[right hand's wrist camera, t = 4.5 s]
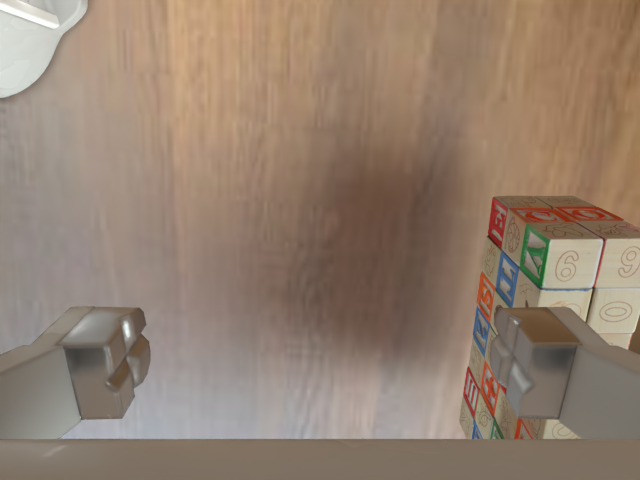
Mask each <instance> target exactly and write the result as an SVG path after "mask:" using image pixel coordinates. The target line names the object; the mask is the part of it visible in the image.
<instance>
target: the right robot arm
mask: <svg viewBox="0 0 640 480" xmlns="http://www.w3.org/2000/svg"><path fill="white" fill-rule="evenodd" d="M87 8H88V0H0V98H4V97H8V96H11V95H14V94H16V93H19V92H21V91H23V90H24V89H26V88H27V87H29V86H30V85H31V84H33V83H34V82H35V81H36V80H37V79H38V78H39V77H40V76H41V75H42V73H43V72H44V71H45V69H46V68H47V66H48V65H49V63H50V61H51V59H52V57H53V54H54V52H55V49H56V47H57V45H58V42H59V40H60V38H61V37H62V35H63V34H64V33H65V32H66V31H68V30H69V29H70V28H71V27H72V26H74V25H75V24H76V23H77V22H78V21H79V20H80V19H81V18H82V17H83V16H84V14H85V13H86V11H87ZM145 326H146V321H145V316H144V312H143V311H142V310H141V309H140V308H132V307H95V306H90V307H71V308H69V309H68V310H67V311H66V312H65V313H64V314H63V315H62V316H61V317H60V318H59V319H58V320H57V321H55V322H54V323H53V324H52V325H51V326H50V327H49V328H48V329H47V330H46V331H45V332H44V333H43V334H42V335H41V336H40V337H38V338H37V339H36V340H35V341H34V342H33V343H32V344H31V345H29V346H20V347H18V348H16V349H13V350H11V351H8V352H6V353H4V354H1V355H0V480H640V355H639V354H636V353H634V352H632V351H629V350H627V349H624V348H622V347H620V346H611V345H609V344H608V343H607V342H606V341H605V340H604V339H603V338H602V337H601V336H599V335H598V334H597V333H596V332H595V331H594V330H593V329H592V328H591V327H590V326H589V325H588V324H587V323H586V322H585V321H584V320H583V319H581V318H580V317H579V316H578V315H577V314H576V313H575V312H574V311H573V310H572V309H571V308H568V307H565V306H560V307H520V308H499V309H498V311H497V313H496V315H495V320H494V326H495V328H496V329H497V331H498V332H499V334H498V335H497V336H496V337H495V338H494V339H493V340H492V341H491V345H490V353H489V356H490V366H491V369H492V373H493V375H494V377H495V379H496V381H497V383H499V384H500V385H502V386H504V387H505V388H507V389H506V395H505V397H506V399H507V400H508V402H509V404H510V406H511V407H512V409H513V411H514V413H515V414H516V416H517V418H518V419H551V420H559V422H560V423H561V424H563V425H564V426H565V427H567V428H568V429H569V430H571V431H572V432H573V433H575V434H576V435H577V436H578V437H580V438H581V439H59V438H60V437H62V436H63V435H64V434H66V433H67V432H68V431H70V430H71V429H72V428H74V427H75V426H76V425H78V424H79V423H80V422H81V420H89V419H122V418H123V416H124V414H125V413H126V411H127V409H128V407H129V406H130V404H131V402H132V400H133V399H134V397H135V395H134V389H133V388H135V387H136V386H138V385H140V384H141V383H143V381H144V379H145V377H146V375H147V373H148V369H149V365H150V345H149V341H148V340H147V339H146V338H145V337H144V336H143V335H142V334H141V332H142V331H143V329H144V328H145Z"/></svg>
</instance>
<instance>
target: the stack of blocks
mask: <svg viewBox="0 0 640 480" xmlns="http://www.w3.org/2000/svg"><path fill="white" fill-rule="evenodd" d="M560 306H565V307H568V308H571V309H572V310H573V311H574V312H575V313H576V314H577V315H578V316H579V317H580V318H581V319H583V320H584V321H585V322H586V323H587V324H588V325H589V326H590V327H591V328H592V329H593V330H594V331H595V332H596V333H597V334H598V335H599V336H601V337H602V338H603V339H604V340H605V341H606V342H607V343H608V344H609V345H611V346H620V347H622V348H624V349H627V350H628V348H629V345H630V341H631V338H632V333H633V332H634V331H635V328H636V325H637V321H638V318H639V314H640V228H638V227H636V226H634V225H632V224H630V223H628V222H625V220H624V219H622V218H620V217H618V216H616V215H614V214H612V213H610V212H607V211H605V210H603V209H601V208H599V207H596V206H594V205H592V204H589V203H587V202H585V201H583V200H581V199H579V198H577V197H574V196H535V197H534V196H498V197H493V199H492V207H491V215H490V223H489V230H488V236H487V237H486V242H485V249H484V256H483V263H482V272H481V277H480V283H479V290H478V297H477V310H476V317H475V324H474V330H473V339H472V346H471V353H470V360H469V367H468V368H467V373H466V380H465V386H464V393H463V395H464V396H463V398H462V405H461V411H460V419H459V421H460V425H461V427H462V429H463V431H464V434H465V437H466V439H581V438H580V437H578V436H577V435H576V434H575V433H573V432H572V431H571V430H569V429H568V428H567V427H565V426H564V425H563V424H561V423H560V422H559V420H551V419H518V418H517V416H516V414H515V413H514V411H513V409H512V407H511V406H510V404H509V402H508V400H507V399H506V397H505V395H506V389H507V388H505V387H504V386H502V385H500V384H499V383H497V381H496V379H495V377H494V375H493V373H492V369H491V366H490V356H489V353H490V345H491V341H492V340H493V339H494V338H495V337H496V336H497V335H498V334H499V332H498V331H497V329H496V328H495V326H494V320H495V315H496V313H497V311H498V309H499V308H520V307H560Z"/></svg>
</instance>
